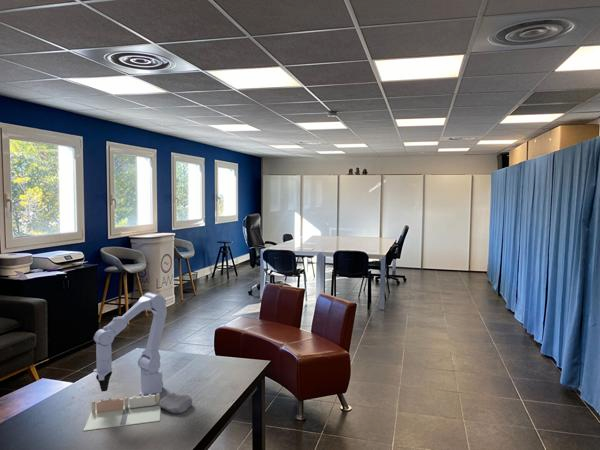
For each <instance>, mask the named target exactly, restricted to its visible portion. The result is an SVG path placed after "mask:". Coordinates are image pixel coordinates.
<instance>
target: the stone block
mask: <svg viewBox="0 0 600 450" xmlns="http://www.w3.org/2000/svg"><path fill="white" fill-rule="evenodd" d="M192 405H193V398H192V396H190V395H189V394H177V393H175V392H172V393H170V394H168V395H165V396H164V397H162V398H160V403H159V406H160V407H161V409H163V410H166V411H167V412H170V413H172V414H181V413H184V412H186V411H187V410H188V409H189V408H191V406H192Z"/></svg>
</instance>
